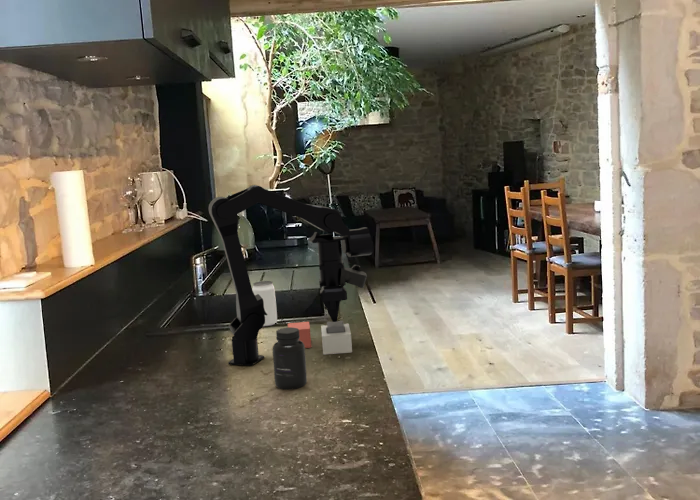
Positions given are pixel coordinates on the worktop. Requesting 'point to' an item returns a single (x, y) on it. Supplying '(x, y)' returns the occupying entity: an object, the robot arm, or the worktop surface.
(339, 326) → the button
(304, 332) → the salmon red block
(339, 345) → the box
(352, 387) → the worktop surface
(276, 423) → the worktop surface
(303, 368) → the supplement bottle
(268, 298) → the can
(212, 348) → the worktop surface
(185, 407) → the worktop surface
